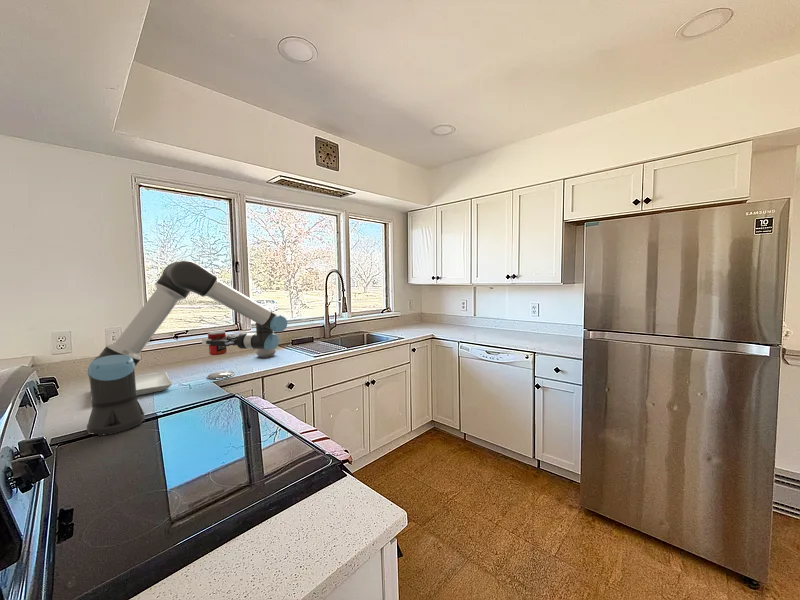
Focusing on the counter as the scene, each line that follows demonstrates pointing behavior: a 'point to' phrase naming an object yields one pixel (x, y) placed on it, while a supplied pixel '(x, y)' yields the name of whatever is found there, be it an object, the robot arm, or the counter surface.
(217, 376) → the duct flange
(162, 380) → the square plate
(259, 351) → the coffee pot
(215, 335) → the canned food
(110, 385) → the robot arm
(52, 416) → the counter surface
